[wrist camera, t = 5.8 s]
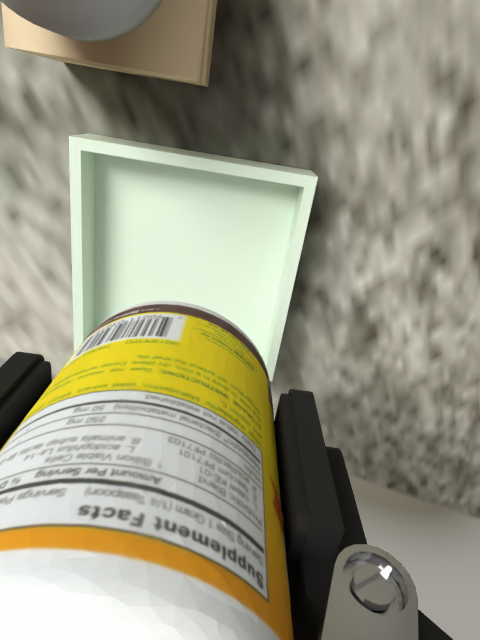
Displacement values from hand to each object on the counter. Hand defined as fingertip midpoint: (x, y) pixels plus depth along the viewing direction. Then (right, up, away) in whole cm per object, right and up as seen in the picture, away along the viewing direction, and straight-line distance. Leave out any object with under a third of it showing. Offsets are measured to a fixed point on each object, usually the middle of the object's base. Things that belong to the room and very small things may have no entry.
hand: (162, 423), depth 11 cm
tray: (-1, +7, +17) cm, 19 cm away
